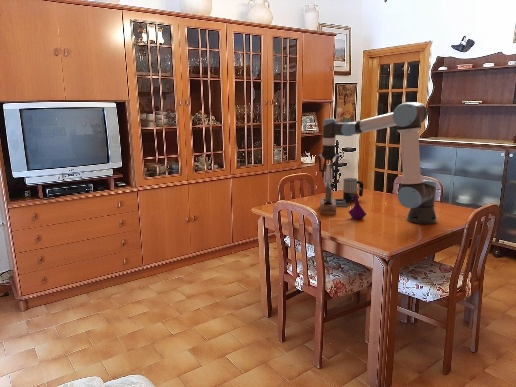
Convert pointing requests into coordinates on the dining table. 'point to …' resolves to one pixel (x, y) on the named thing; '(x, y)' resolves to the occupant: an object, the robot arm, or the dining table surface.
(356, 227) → the dining table surface
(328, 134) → the robot arm
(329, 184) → the steel peg
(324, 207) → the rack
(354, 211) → the perfume bottle
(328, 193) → the black peg
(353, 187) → the milk frother
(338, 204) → the socket block
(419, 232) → the dining table surface
